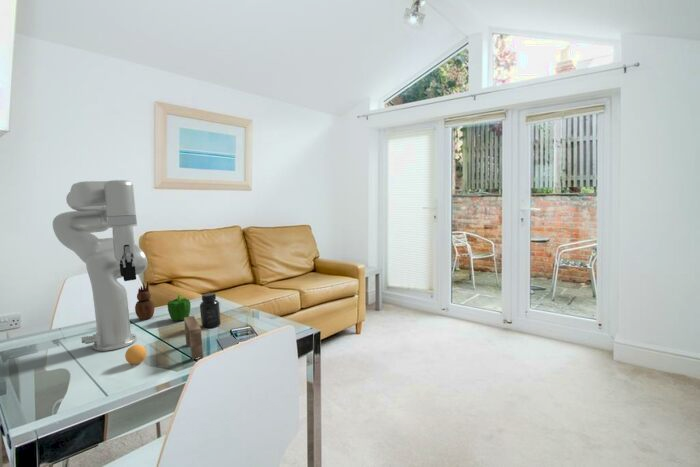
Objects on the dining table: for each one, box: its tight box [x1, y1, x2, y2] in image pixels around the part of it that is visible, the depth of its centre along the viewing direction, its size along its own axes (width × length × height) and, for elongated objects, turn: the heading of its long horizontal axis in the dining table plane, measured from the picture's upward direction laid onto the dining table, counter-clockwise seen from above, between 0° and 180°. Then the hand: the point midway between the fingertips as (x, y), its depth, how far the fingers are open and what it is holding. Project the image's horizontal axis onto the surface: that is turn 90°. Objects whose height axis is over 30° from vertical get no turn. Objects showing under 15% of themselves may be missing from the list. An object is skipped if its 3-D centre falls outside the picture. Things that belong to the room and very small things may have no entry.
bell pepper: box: [167, 293, 191, 322], centre depth 154 cm, size 8×8×10 cm
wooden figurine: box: [134, 281, 155, 320], centre depth 157 cm, size 7×6×15 cm
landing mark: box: [216, 335, 256, 350], centre depth 130 cm, size 12×12×1 cm
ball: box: [124, 344, 147, 365], centre depth 115 cm, size 6×6×6 cm
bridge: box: [183, 315, 204, 361], centre depth 122 cm, size 3×14×9 cm, turn 29°
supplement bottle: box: [199, 292, 221, 329], centre depth 146 cm, size 7×7×12 cm
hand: (128, 277), depth 118 cm, fingers open, 9 cm apart
